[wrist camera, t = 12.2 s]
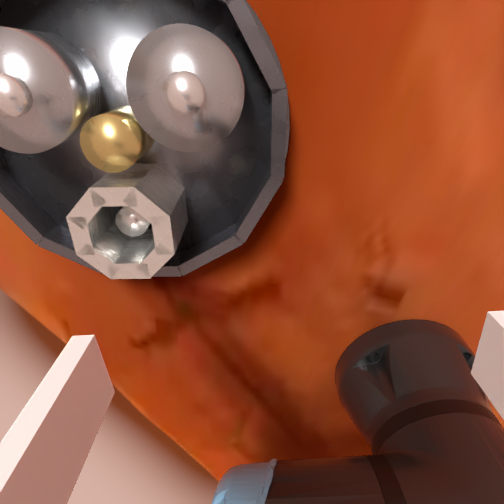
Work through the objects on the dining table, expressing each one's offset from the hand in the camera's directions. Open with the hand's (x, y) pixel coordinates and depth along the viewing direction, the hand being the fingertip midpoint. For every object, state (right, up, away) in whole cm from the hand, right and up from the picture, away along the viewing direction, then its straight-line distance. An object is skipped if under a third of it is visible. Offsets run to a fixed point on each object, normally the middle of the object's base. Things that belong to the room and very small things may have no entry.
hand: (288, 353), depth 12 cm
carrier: (-10, +13, +16) cm, 23 cm away
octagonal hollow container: (-10, +7, +18) cm, 22 cm away
